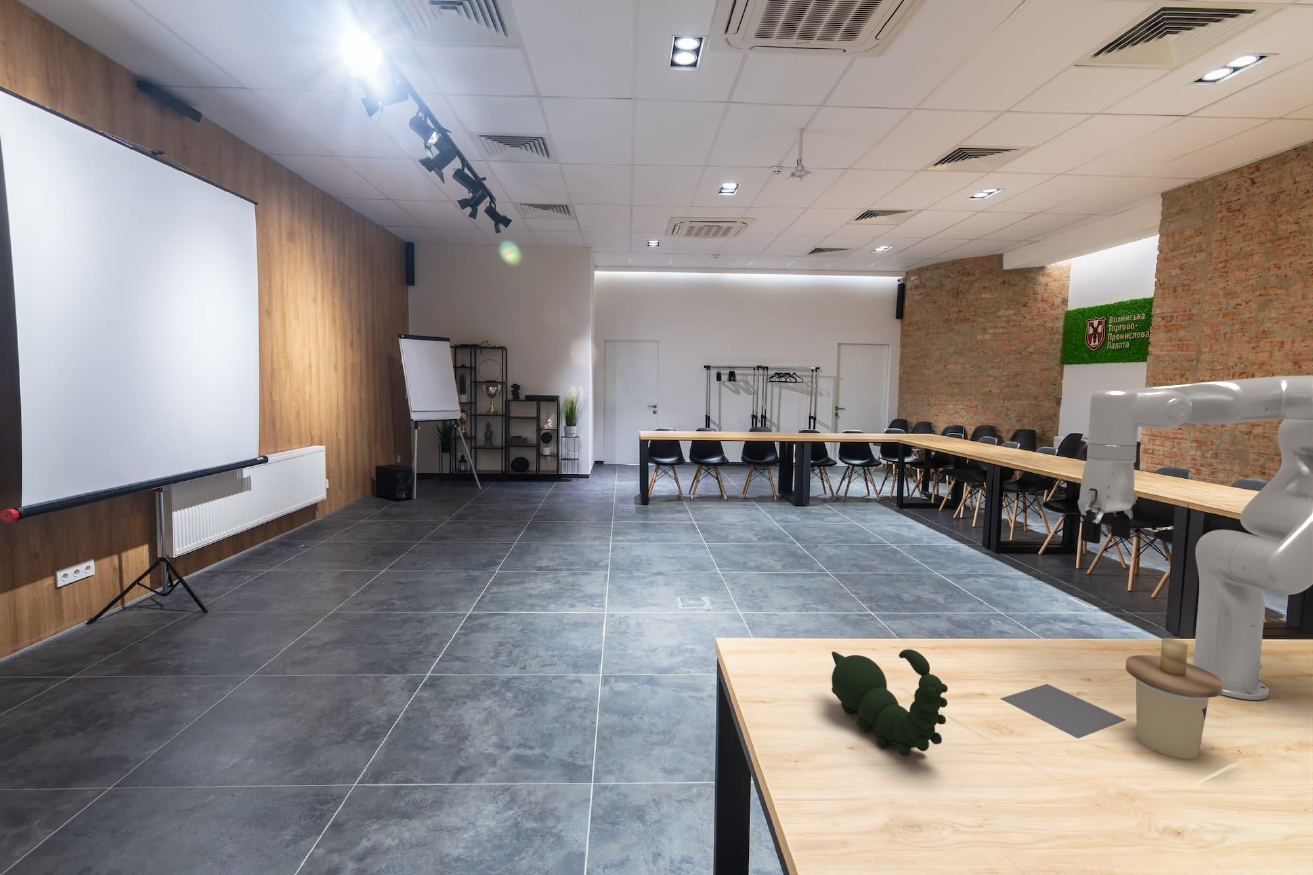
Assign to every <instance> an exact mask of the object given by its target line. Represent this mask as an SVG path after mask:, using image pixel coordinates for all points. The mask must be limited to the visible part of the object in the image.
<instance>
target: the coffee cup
mask: <svg viewBox="0 0 1313 875" xmlns="http://www.w3.org/2000/svg"><path fill="white" fill-rule="evenodd" d="M1135 684H1136V685H1135V703H1136V704H1135V706H1136V715H1135V716H1136V738H1137V739H1138V741H1139V742H1140V743H1142V744H1143V745H1144V746H1146V747H1147V748H1149V749H1151V750H1153V751H1155V752H1157V753H1159V754H1163V755H1166V756H1169V757H1171V758H1172V757H1173V758H1177V759H1183V760H1185V759H1186V760H1190V759H1191V760H1193V759H1196V758H1197V757H1198V756H1199V753H1200V748H1201V744H1202V738H1203V732H1204V727H1205V721H1206V717H1207V716H1206V715H1207V711H1208V704H1209V699H1210V697H1207V698H1206V697H1193V696H1186V695H1181V694H1176V693H1172V692H1169V691H1165V690H1162V689H1159V688H1156V687H1153V686H1151V685H1148V684H1146V683H1144V682H1142V681H1140V680H1138V679H1136V678H1135Z"/></svg>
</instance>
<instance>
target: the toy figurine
mask: <svg viewBox="0 0 1313 875" xmlns="http://www.w3.org/2000/svg"><path fill="white" fill-rule="evenodd" d="M831 656H832V659H833V661H834V665H835V666H834V669H833V671H832V674H831V692H832V693H833V695H835V696H836V697H837V699H838V700H839V701H840V706H841V708H842V710H843V711H844V712H846V713H848V714H850V715H853V714H858V713H859V715H860V716H859V717H857V720H856V725H857V727H858V729H859V730H861V731H862V732H864V733H867V732H869V731H871V729H872V728H874V729H876V731H877V732H878V735H877V736H876V739H875V741H876V743H877V745H878V747H879V748H883V749H884V748H885V749H886V748H887V747H889V745H890V744H893V745H896V746H897V747H896V748H897V752H898V754H899V755H900V756H902V757H906V758H907V757H908V756H909V755H911V752H912V749H913V748H914V749H917V750H918V751H920V752H927V751H928V749H929V748H930V742H929V741H931V743H932V744H933V745H940V744H942V742H943V738H942V735H941V734H940V733H939V732H937V731H936V725H937V724H938V725H944V724H946V722H947V719H946V716H945V715H943V714H941V713H939V710H940V708H943V709H944V708H946V707H947V706H948V700H947V699H946V697H943V696H941V695H943V694H944V693H947V692H948V689H949V688H948V686H947V685H946V684H945V683H943V682H942V680H941V678H939V677H938V676H937V675H934V674H932V673H930V671H931V666H930V663H929V661H928V660H927V659H926V657H925V656H924V655H923V654H921V653H920V652H918V651H917V650H914V649H910V648H908V649H907V648H906V649H903V650H901V651H900V652H899V654H898V657H899V659H905V660H906V661H907V662H908V663H909V664H910V666H911V668H912V669H913V670H914V671H915V673H916V674H917V675H918V676H920V678H919V680H918V688H917V689H916V690H915V691H914V695H913V697H914V698H913V700H914V701H912V703H911V704H910V706H909V711H908V710H907V709H906V708H905V707H903V706H901V705H899V701H898V699H897V698H896V696H895V695H894V693H893V692H892V691H889V690H888V682H887V678H886V675H885V673H884V671H883V670H882V669H881V667H880V666H879V665H878V664H877V663H876V662H875V661H874V660H873V659H871V658H868V657H867V656H863V655H860V654H853V655H852V654H851V655H847V656H844V655H842V654H840V653H838V652H836V651H831Z"/></svg>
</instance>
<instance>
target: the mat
mask: <svg viewBox="0 0 1313 875" xmlns="http://www.w3.org/2000/svg"><path fill="white" fill-rule="evenodd" d="M1000 700H1002V701H1004V702H1006V703H1008V704H1010V705H1012V706H1014V707H1016V708H1017V709H1019V710H1022V711H1023V712H1025V713H1026V714H1027V713H1028V715H1031V716H1032V717H1035V718H1037V719H1038V720H1039V719H1040V720H1041V721H1043V722H1045V723H1047V724H1048V725H1051V726H1053V727H1055V728H1057V729H1058V730H1061V731H1062V732H1064V733H1067V734H1069V735H1070V736H1072V737H1074V738H1076V739H1081V738H1083V737H1085V736H1088V735H1091V734H1094V733H1096V732H1098V731H1102V730H1104V729H1107V728H1109V727H1112V726H1114V725H1117V724H1119V723H1122V722H1125V721H1126V720H1127V719H1126V718H1124V717H1121V716H1119V715H1117V714H1115V713H1113V712H1110V711H1108V710H1106V709H1103V708H1102V707H1099V706H1097V705H1096V704H1092V703H1091V702H1088V701H1086V700H1084V699H1081V698H1080V697H1077V696H1075V695H1072V694H1071V693H1068V692H1066V691H1064V690H1061V689H1059V688H1058V687H1055V686H1054V685H1051V684H1048V683H1045V684H1043V685H1039V686H1036V687H1033V688H1030V689H1026V690H1023V691H1020V692H1017V693H1013V694H1010V695H1007V696H1004V697H1001V698H1000Z"/></svg>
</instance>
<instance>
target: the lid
mask: <svg viewBox="0 0 1313 875" xmlns="http://www.w3.org/2000/svg"><path fill="white" fill-rule="evenodd" d="M1160 648H1161V649H1160V656H1157V655H1148V654H1146V655H1144V654H1141V655H1140V654H1139V655H1138V654H1137V655H1131V656H1128V657H1127V658H1126V660H1125V671H1126V672H1127V673H1128V674H1129V675H1130V676H1132V677H1133V678H1135V680H1136V679H1138V680H1140V681H1142V682H1144V683H1146V684H1148V685H1151V686H1153V687H1156V688H1159V689H1162V690H1165V691H1169V692H1172V693H1176V694H1181V695H1186V696H1193V697H1206V698H1207V697H1209V698H1215V697H1218V696H1221V695H1222V689H1223V683H1222V681H1221V680H1220V679H1219V678H1218V677H1217V676H1215V675H1214V674H1212V673H1210V672H1208V671H1206V670H1204V669H1202V668H1199V667H1197V666H1194V665H1193V664H1192V663H1188V662H1187V660H1188V648H1189V644H1188V643H1186V642H1185V641H1182V640H1179V639H1175V638H1170V637H1169V638H1167V637H1165V638H1162V639H1161V647H1160Z"/></svg>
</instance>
